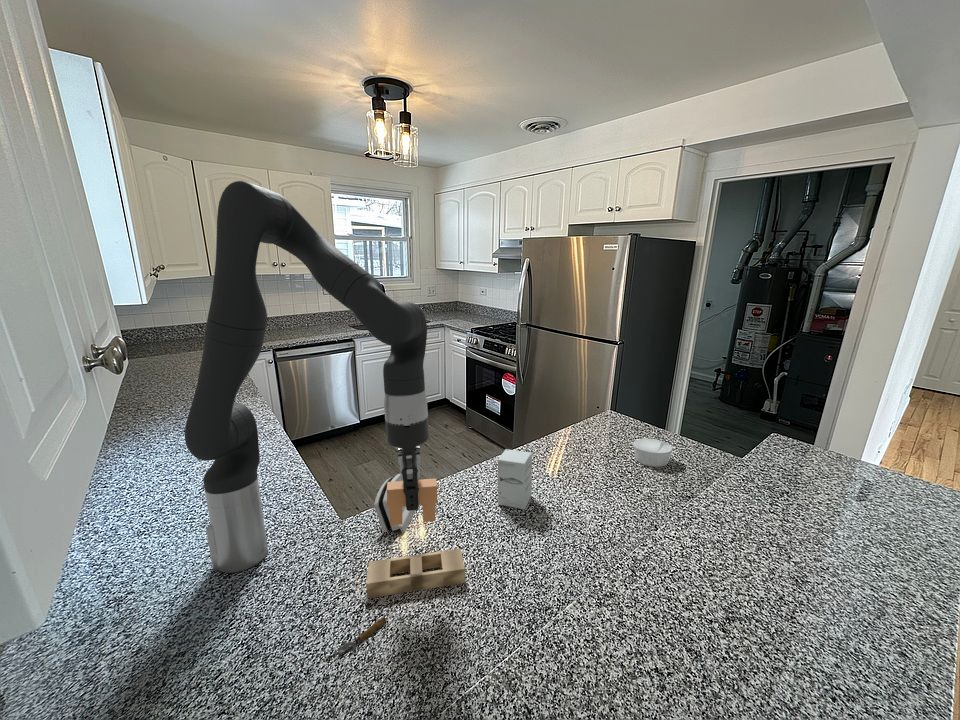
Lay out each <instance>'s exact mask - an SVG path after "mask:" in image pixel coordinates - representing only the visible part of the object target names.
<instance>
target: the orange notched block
mask: <svg viewBox="0 0 960 720" xmlns="http://www.w3.org/2000/svg"><path fill="white" fill-rule="evenodd" d="M437 483H438V482H437V478H426V479H425V478H424V479H418V486H419V491H418V504H419V506H422V520H423V521H422V522H423V523H430V522H436V504H438V484H437ZM403 488H404V486H403V481H395V482H387V508H390V526H391V525H401V524H402V507H405V506H406V496H405V494H404V492H403Z"/></svg>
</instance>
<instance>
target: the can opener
mask: <svg viewBox="0 0 960 720" xmlns="http://www.w3.org/2000/svg"><path fill="white" fill-rule="evenodd" d="M386 623H387V619H386V617H385V616H383V617H381V618H380V619H378V620H377V621H376V622H374V623H373V624H371V626H370V627H368V629H366V630H365V631H363V632H362V633H360V634H359V635H358V636H356V637H355V639H354V641H347V642H346V643H344V644H343V645H341V646H340V647H339V648H338V649H337V650H336V651H338V652H336V651H335V653H334V654H333V656H334V655H335V656H336V655H337V654H338V656H339V657H340V658H341V657H342V656H341V654H342V653H343V652H345V654H347V653H348V651H350V652H353V651H355V650H356V648H357V647H358V646H357V645H359V644H361V643H362V642H363V641H365V640H366V639H367V638H369V637H370V636H371V635H372V634H373V635H374V633H376V632H377V631H378V630H379V629H381V628H382V627H383V626H384V625H386Z"/></svg>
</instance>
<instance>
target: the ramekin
mask: <svg viewBox="0 0 960 720" xmlns="http://www.w3.org/2000/svg"><path fill="white" fill-rule="evenodd" d="M632 446H633V450H634V457H635V459H636V461H637V462H638V463H639V464H641V465H644V466H647V467H651V468H660V467H664V466H667V464H669V462H670V458H671V454H672V453H673V447H672V445H670V444H669V443H667V442H666V441H663V440H658V439H653V438H641V439H640V438H639V439H636V440H634V441H633V443H632Z"/></svg>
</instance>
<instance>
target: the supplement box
mask: <svg viewBox="0 0 960 720" xmlns="http://www.w3.org/2000/svg"><path fill="white" fill-rule="evenodd" d="M532 459H533V453H532V452H529V451H521V450H515V449H508V448H505V449H504V450H503V452H502V453H501V454H500V456H499V457H498V458H497V505H498V506H503V507H504V506H506V507H511V508H516V509H520V510H525V509H526V508H527V506H528V505H529V504H528V503H530V502H529V501H530V500H531V498H532V490H533V489H532V487H533V485H532V484H533V482H532V481H533V478H532V477H533V460H532Z"/></svg>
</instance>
